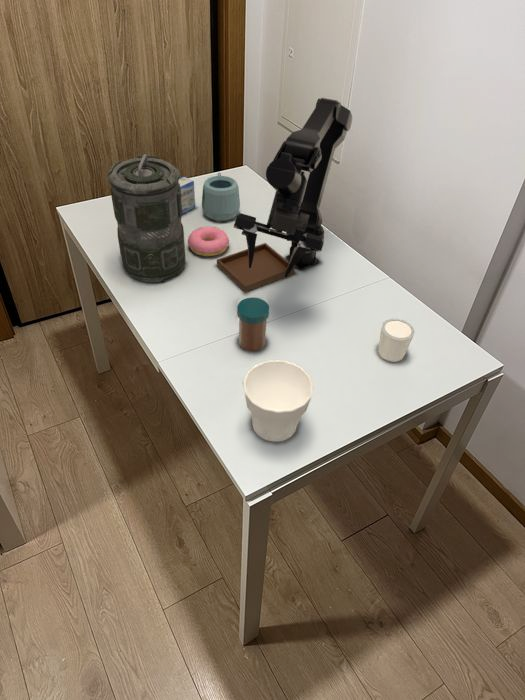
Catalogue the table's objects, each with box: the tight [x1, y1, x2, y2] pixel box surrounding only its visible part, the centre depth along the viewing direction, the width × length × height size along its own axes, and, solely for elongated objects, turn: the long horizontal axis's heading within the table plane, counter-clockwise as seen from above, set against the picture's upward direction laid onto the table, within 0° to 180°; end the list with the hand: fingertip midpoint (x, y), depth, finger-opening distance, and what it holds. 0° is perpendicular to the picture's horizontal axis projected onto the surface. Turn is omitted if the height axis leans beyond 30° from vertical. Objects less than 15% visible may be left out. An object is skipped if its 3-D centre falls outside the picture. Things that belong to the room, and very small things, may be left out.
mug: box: [201, 172, 241, 222], centre depth 154 cm, size 15×11×10 cm
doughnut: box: [187, 226, 230, 257], centre depth 142 cm, size 11×11×4 cm
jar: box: [238, 318, 268, 352], centre depth 114 cm, size 6×6×10 cm
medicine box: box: [178, 176, 196, 215], centre depth 153 cm, size 8×4×9 cm, turn 141°
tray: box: [216, 242, 296, 294], centre depth 136 cm, size 15×13×2 cm
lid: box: [236, 296, 270, 324], centre depth 111 cm, size 7×7×2 cm
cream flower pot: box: [242, 359, 315, 442], centre depth 97 cm, size 12×12×11 cm
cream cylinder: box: [377, 318, 415, 363], centre depth 114 cm, size 7×7×7 cm
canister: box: [107, 153, 186, 283], centre depth 126 cm, size 16×16×28 cm
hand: (267, 273), depth 112 cm, fingers open, 7 cm apart
